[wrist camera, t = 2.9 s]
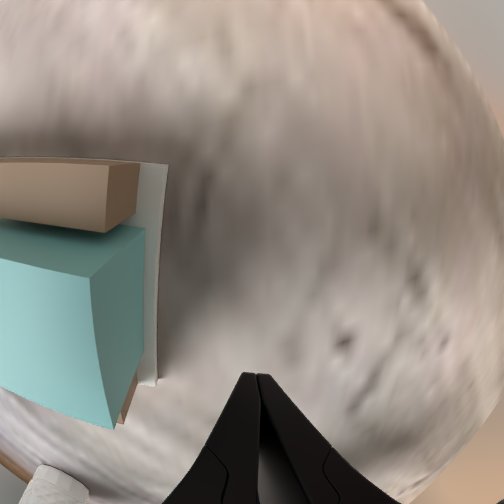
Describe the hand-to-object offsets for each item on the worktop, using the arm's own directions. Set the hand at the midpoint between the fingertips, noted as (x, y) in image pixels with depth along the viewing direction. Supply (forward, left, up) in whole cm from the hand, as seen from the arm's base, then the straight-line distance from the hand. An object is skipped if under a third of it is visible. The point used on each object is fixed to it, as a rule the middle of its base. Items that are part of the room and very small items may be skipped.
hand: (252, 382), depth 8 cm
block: (+8, 0, -4) cm, 9 cm away
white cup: (+17, +28, -5) cm, 33 cm away
